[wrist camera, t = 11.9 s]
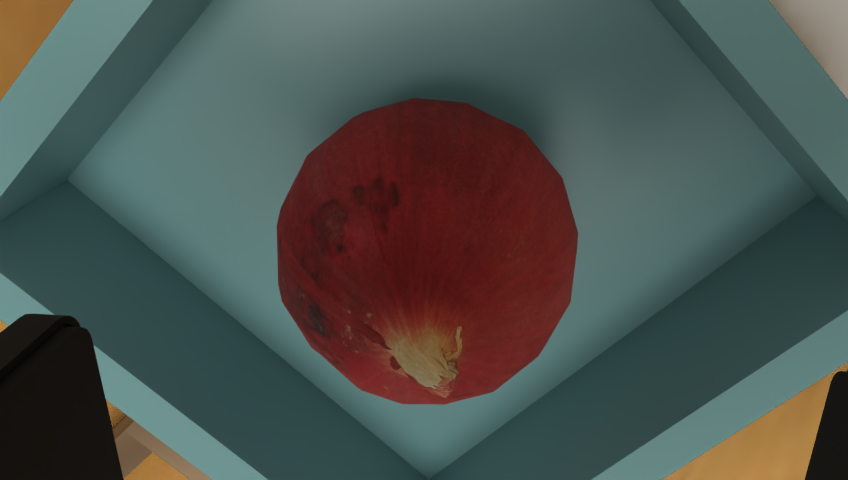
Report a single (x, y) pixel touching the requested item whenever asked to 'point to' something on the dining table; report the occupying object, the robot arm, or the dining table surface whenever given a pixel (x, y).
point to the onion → (427, 251)
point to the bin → (496, 95)
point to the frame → (147, 450)
